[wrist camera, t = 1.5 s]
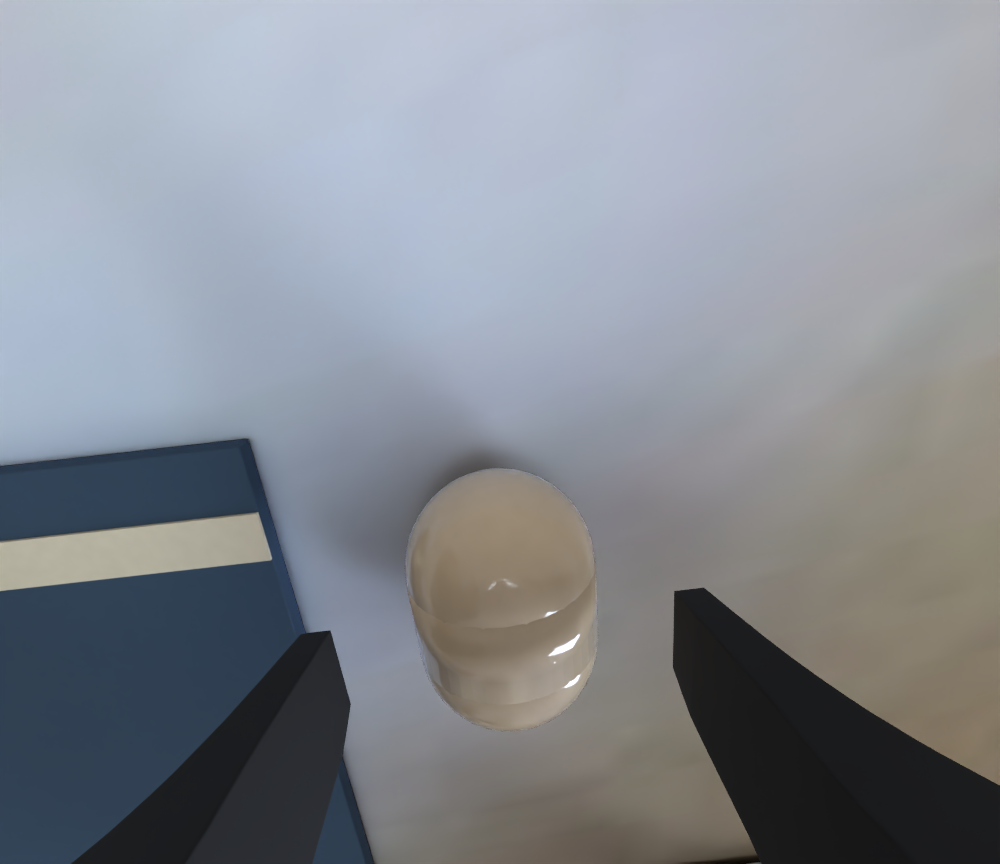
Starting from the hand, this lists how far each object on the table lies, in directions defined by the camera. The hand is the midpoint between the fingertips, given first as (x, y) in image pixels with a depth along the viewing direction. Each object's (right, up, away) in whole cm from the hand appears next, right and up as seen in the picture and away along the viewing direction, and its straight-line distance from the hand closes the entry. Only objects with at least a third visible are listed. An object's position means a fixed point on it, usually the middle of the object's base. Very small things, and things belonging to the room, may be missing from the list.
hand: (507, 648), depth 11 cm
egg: (0, +1, +4) cm, 4 cm away
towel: (-12, -7, +6) cm, 15 cm away
